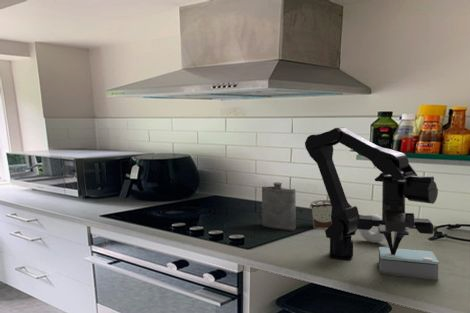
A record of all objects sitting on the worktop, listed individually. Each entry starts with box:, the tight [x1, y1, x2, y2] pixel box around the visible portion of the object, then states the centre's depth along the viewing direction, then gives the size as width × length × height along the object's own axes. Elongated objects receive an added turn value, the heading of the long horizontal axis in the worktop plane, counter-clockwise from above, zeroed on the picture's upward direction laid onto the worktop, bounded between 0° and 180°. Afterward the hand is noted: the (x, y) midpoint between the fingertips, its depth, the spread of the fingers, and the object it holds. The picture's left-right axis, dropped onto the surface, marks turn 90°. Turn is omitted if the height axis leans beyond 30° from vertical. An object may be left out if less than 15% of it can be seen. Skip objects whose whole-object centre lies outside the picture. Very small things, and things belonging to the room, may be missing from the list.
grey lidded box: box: [378, 250, 439, 281], centre depth 103 cm, size 14×9×4 cm, turn 72°
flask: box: [261, 181, 297, 231], centre depth 145 cm, size 4×14×18 cm, turn 57°
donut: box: [358, 213, 386, 244], centre depth 126 cm, size 10×4×10 cm, turn 54°
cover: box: [378, 246, 440, 265], centre depth 102 cm, size 14×9×1 cm
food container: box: [309, 199, 332, 229], centre depth 147 cm, size 12×6×10 cm, turn 92°
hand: (393, 255), depth 101 cm, fingers closed, pressing on cover
